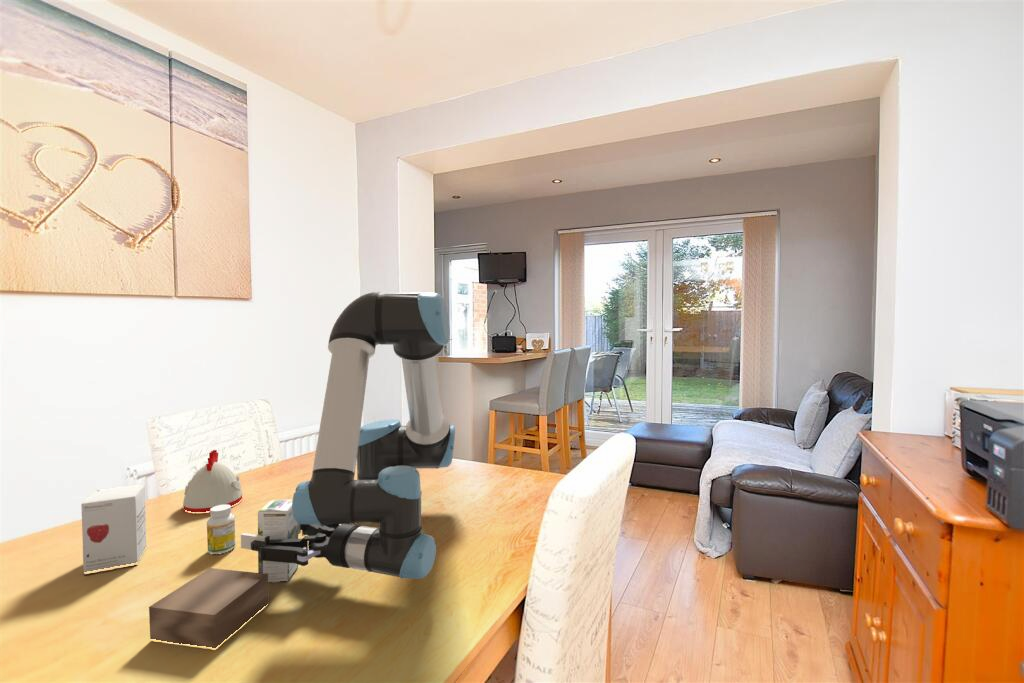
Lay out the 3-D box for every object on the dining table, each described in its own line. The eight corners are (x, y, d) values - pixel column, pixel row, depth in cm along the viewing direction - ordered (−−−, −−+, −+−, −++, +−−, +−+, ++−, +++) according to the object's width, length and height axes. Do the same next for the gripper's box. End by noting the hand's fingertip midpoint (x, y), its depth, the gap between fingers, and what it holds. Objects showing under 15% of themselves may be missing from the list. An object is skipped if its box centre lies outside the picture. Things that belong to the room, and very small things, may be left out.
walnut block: (150, 643, 75) (148, 606, 75) (211, 599, 87) (210, 567, 87) (215, 652, 73) (214, 615, 73) (268, 606, 85) (267, 574, 84)
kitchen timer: (247, 493, 140) (245, 443, 140) (235, 510, 127) (234, 456, 127) (193, 498, 136) (191, 447, 135) (175, 517, 123) (173, 461, 122)
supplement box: (81, 577, 94) (78, 503, 94) (96, 557, 102) (93, 489, 102) (138, 566, 98) (135, 495, 98) (148, 547, 106) (145, 482, 106)
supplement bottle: (233, 552, 104) (232, 510, 104) (205, 557, 102) (204, 514, 101) (237, 542, 109) (236, 501, 108) (210, 546, 107) (208, 505, 106)
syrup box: (270, 568, 97) (268, 499, 97) (299, 567, 98) (298, 498, 97) (257, 583, 92) (255, 510, 91) (289, 582, 92) (287, 509, 91)
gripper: (320, 595, 80) (215, 575, 86) (385, 542, 99) (295, 528, 105) (319, 552, 79) (214, 535, 86) (384, 507, 99) (294, 495, 105)
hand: (258, 531), depth 96 cm, fingers closed on syrup box, 7 cm apart
